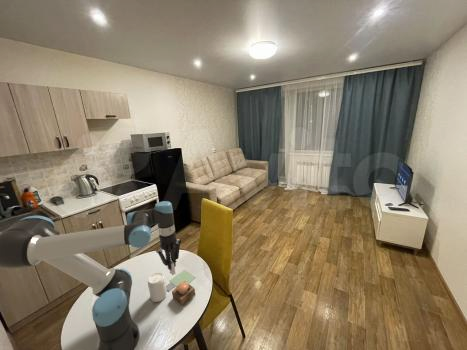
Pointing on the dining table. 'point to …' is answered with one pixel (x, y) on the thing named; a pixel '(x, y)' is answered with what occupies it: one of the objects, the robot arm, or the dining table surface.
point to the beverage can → (157, 287)
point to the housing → (186, 297)
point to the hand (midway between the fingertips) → (172, 273)
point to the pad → (182, 278)
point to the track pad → (169, 287)
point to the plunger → (182, 288)
